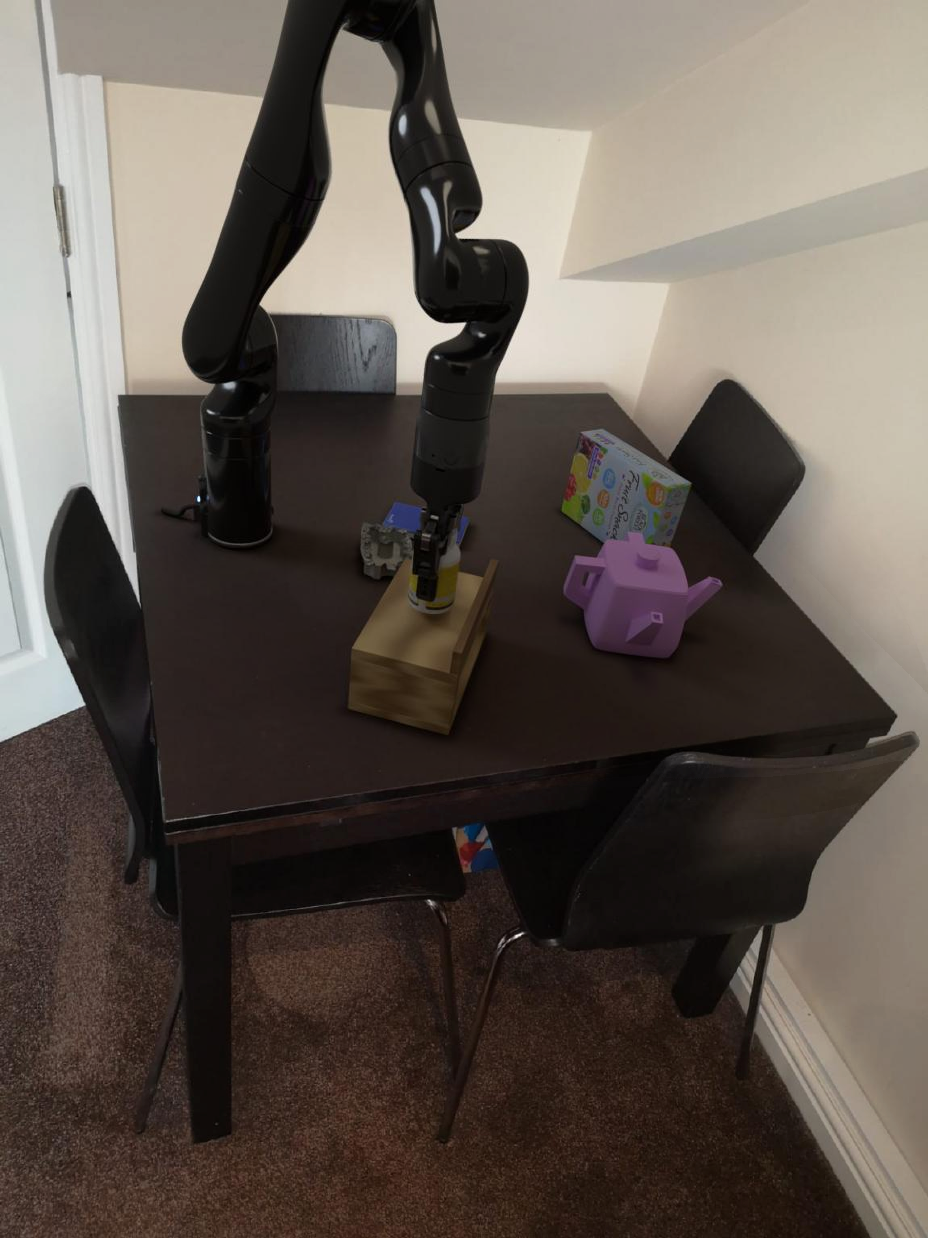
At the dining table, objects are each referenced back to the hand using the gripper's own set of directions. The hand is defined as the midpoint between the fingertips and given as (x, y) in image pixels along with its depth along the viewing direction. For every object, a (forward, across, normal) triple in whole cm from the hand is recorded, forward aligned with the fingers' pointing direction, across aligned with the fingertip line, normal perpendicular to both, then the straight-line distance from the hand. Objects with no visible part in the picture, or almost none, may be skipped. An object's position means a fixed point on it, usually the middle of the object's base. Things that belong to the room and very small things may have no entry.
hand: (432, 584), depth 92 cm
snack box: (+13, -45, +20) cm, 51 cm away
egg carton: (+13, -22, -12) cm, 28 cm away
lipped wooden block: (+13, 0, 0) cm, 13 cm away
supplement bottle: (+3, 0, 0) cm, 3 cm away
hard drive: (+13, -34, -9) cm, 37 cm away
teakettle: (+13, -20, +25) cm, 35 cm away
